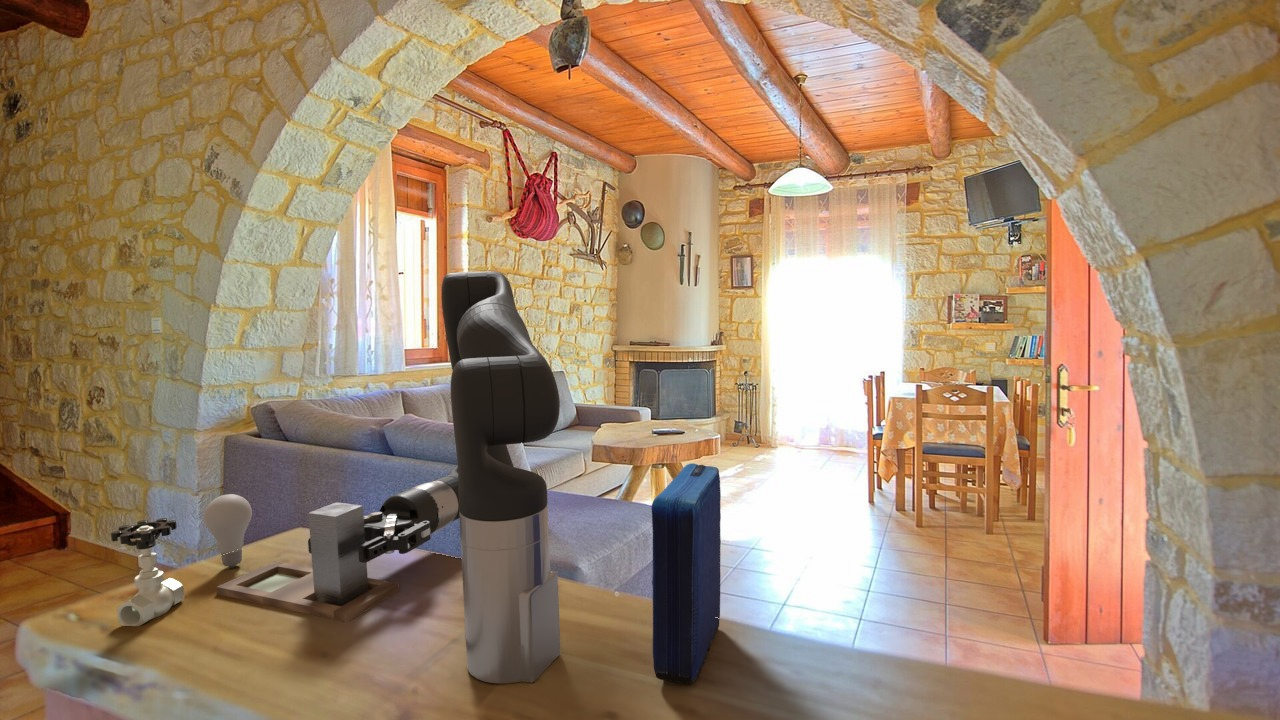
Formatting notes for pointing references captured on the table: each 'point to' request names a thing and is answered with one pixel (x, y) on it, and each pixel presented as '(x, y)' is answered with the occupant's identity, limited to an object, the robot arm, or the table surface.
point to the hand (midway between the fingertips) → (335, 551)
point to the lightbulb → (228, 525)
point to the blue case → (686, 572)
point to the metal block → (337, 553)
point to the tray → (300, 591)
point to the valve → (148, 574)
